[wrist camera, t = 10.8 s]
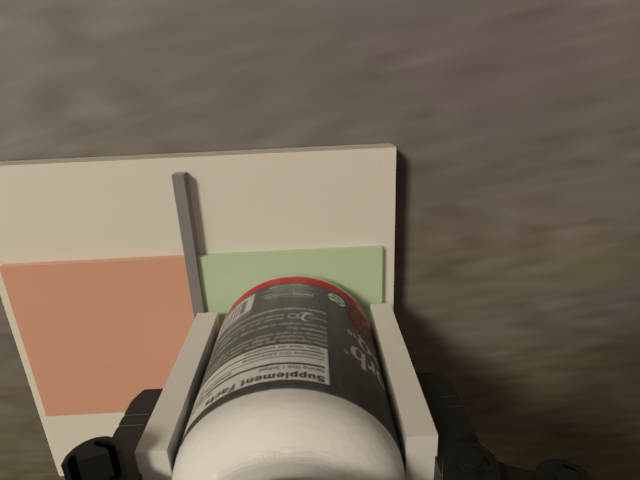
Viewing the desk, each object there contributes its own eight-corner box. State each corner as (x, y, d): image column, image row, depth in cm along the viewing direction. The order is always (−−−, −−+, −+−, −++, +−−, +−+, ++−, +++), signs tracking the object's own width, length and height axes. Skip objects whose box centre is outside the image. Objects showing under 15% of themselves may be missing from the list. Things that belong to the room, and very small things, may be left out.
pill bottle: (380, 382, 18) (457, 705, 9) (244, 407, 18) (179, 747, 9) (355, 254, 16) (422, 497, 7) (203, 284, 16) (68, 558, 7)
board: (-22, 162, 16) (-53, 170, 15) (391, 143, 16) (398, 149, 15) (70, 458, 21) (53, 485, 20) (386, 440, 21) (392, 466, 20)
